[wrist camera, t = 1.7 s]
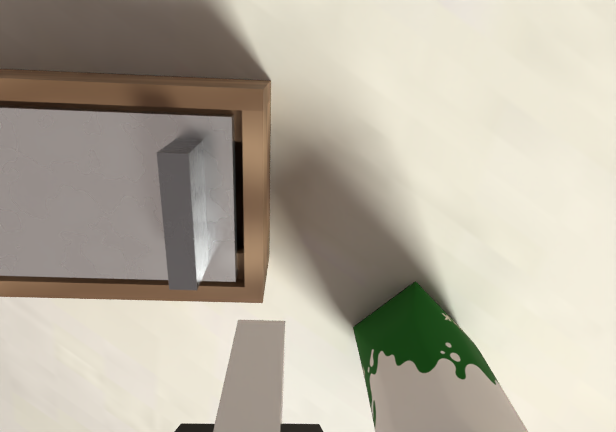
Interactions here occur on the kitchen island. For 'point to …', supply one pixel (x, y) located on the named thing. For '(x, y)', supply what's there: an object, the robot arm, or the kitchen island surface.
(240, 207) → the box
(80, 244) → the cover plate
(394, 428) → the milk carton
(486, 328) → the kitchen island surface
